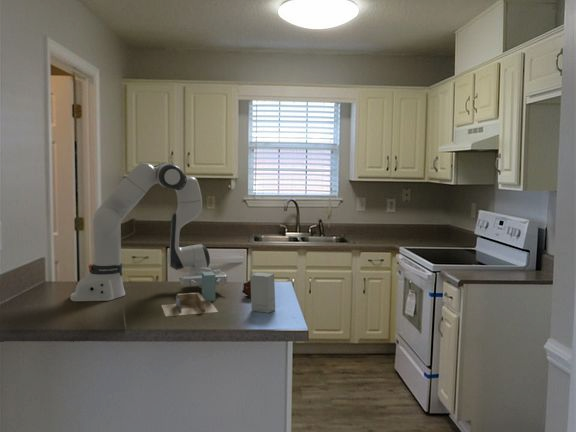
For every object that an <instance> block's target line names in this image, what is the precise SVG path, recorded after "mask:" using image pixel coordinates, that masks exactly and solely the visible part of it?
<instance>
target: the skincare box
mask: <svg viewBox="0 0 576 432" xmlns="http://www.w3.org/2000/svg"><path fill="white" fill-rule="evenodd" d="M249 278H250V280H251V298H250V302H251V306H250V307H251V311H252V312H259V313H265V314H266V313H267V314H270V313H271V312H273V311H275V310H276V291H275V290H276V289H275V288H276V287H275V273H266V272H255V273H253V274H251V275H250V277H249Z"/></svg>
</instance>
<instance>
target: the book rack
mask: <svg viewBox="0 0 576 432" xmlns="http://www.w3.org/2000/svg"><path fill="white" fill-rule="evenodd" d="M176 295H178V296H179V298H180V300H181V313H179V311H178V309H177V307H176V303H172V304H171V303H170V304H161V308H162V311H163V315H164V316H165V317H172V316H173V317H174V316H175V317H176V316H186V315H187V316H188V315H198V314H199V315H200V314H209V313H210V314H212V313H218V312H219V311H218V309H217V308H216V306H215V305H214V304H213V302H212V301H205V299H204V298H203V297H202V293H201V292H188V293H187V292H186V293H177V294H176Z"/></svg>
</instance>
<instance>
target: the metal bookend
mask: <svg viewBox="0 0 576 432" xmlns="http://www.w3.org/2000/svg"><path fill="white" fill-rule="evenodd" d="M175 304H176V307H177V309H178V311H179V313H181V300H180V298H179V296H178V295H177V294H175Z"/></svg>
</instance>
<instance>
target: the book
mask: <svg viewBox="0 0 576 432" xmlns="http://www.w3.org/2000/svg"><path fill="white" fill-rule="evenodd" d="M201 295H202V297H203V298H204V299H205V302H208V301H210V302H215V301H216V284H215V274H214V273H213V272H202V287H201Z"/></svg>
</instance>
